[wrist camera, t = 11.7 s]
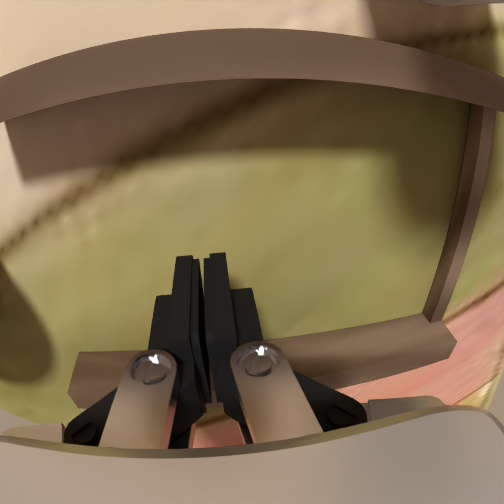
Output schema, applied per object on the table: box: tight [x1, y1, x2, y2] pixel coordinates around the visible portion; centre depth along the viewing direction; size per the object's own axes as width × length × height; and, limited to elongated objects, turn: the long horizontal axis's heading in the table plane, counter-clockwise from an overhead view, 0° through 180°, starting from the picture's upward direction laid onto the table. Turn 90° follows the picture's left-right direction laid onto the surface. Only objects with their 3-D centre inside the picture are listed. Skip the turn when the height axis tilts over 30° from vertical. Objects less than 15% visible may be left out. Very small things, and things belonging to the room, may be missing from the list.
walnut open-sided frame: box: [0, 28, 504, 409], centre depth 13 cm, size 16×22×3 cm
